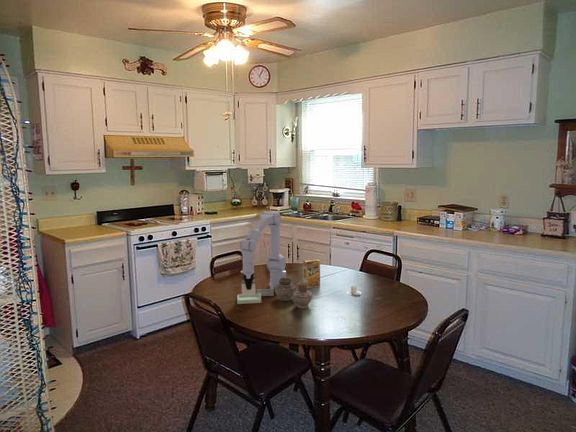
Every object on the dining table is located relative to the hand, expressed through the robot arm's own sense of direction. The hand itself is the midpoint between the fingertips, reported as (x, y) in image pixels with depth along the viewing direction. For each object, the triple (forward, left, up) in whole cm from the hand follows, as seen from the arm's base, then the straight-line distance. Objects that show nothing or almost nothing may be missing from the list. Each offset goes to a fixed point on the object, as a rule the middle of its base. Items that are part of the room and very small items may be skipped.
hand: (248, 288), depth 221 cm
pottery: (-23, +6, -7) cm, 24 cm away
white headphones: (-54, -3, -7) cm, 55 cm away
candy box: (-36, -19, -7) cm, 41 cm away
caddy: (0, 0, -3) cm, 3 cm away
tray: (0, 0, -7) cm, 7 cm away
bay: (-8, -9, -7) cm, 13 cm away
